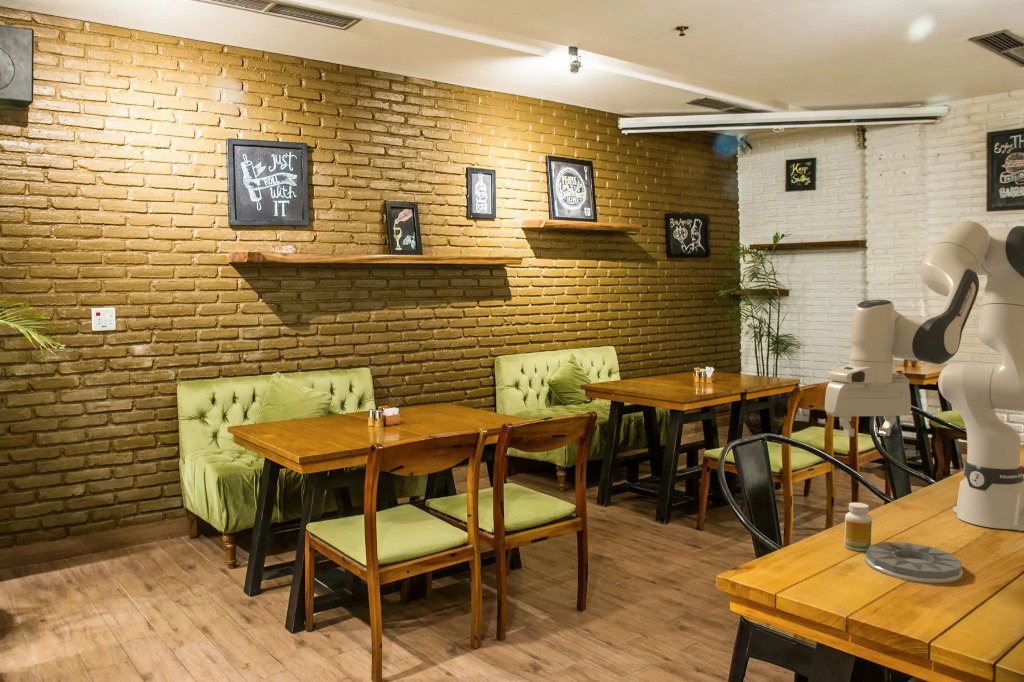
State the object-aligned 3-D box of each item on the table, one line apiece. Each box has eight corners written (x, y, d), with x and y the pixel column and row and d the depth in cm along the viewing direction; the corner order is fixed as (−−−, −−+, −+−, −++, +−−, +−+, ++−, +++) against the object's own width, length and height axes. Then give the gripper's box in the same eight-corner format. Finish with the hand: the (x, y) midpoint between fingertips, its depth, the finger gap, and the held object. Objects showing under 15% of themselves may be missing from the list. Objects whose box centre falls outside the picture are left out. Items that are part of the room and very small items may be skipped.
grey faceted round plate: (904, 546, 173) (904, 537, 173) (982, 574, 157) (983, 563, 157) (846, 558, 166) (846, 548, 165) (922, 589, 149) (923, 578, 149)
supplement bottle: (873, 552, 169) (875, 509, 169) (846, 551, 170) (848, 507, 170) (867, 544, 175) (869, 502, 174) (841, 542, 176) (843, 500, 175)
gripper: (898, 372, 177) (894, 432, 178) (821, 372, 171) (818, 434, 172) (920, 375, 171) (916, 437, 172) (841, 375, 165) (837, 439, 166)
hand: (866, 436), depth 172 cm, fingers open, 8 cm apart
